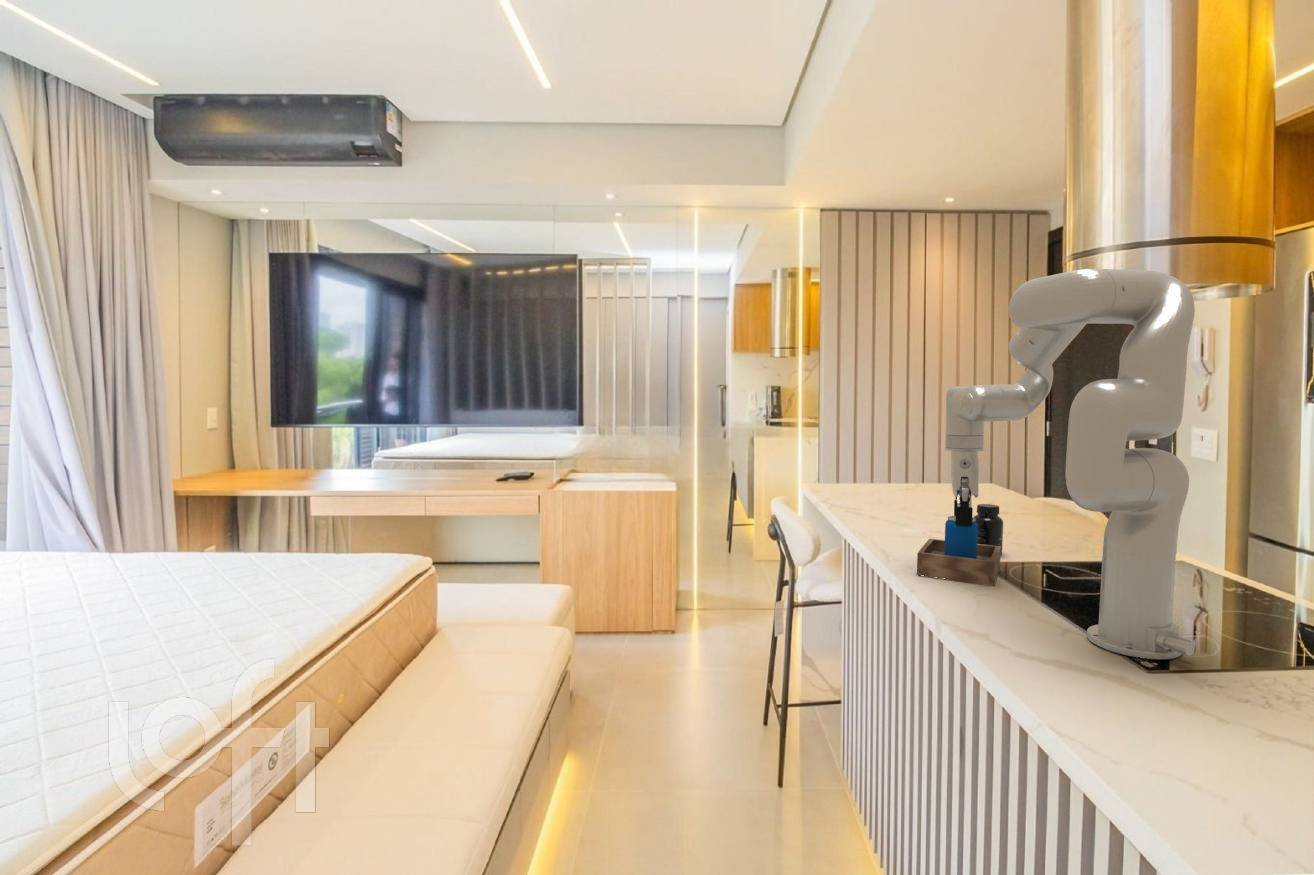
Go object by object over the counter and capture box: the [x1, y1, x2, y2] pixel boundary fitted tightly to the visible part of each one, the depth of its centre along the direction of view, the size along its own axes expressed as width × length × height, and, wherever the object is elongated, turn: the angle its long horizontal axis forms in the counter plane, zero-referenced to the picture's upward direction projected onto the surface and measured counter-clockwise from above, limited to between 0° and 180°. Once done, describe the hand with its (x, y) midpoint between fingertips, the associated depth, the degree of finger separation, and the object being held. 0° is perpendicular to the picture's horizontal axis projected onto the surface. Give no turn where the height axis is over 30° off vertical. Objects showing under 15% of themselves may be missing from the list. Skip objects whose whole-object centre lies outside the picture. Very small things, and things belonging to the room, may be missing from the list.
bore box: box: [916, 538, 1001, 587], centre depth 152 cm, size 15×15×5 cm
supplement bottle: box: [972, 503, 1004, 557], centre depth 166 cm, size 7×7×12 cm
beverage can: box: [944, 515, 978, 559], centre depth 151 cm, size 6×6×12 cm
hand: (962, 522), depth 150 cm, fingers open, 9 cm apart
